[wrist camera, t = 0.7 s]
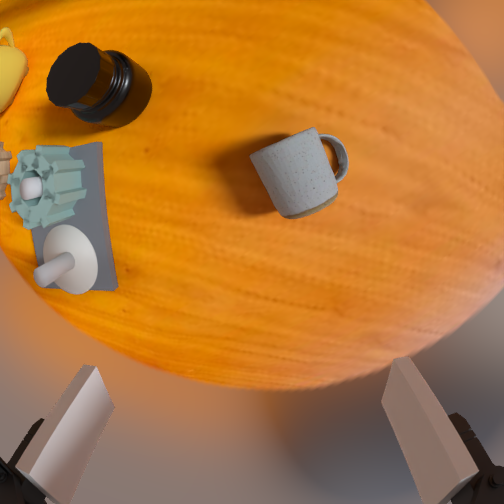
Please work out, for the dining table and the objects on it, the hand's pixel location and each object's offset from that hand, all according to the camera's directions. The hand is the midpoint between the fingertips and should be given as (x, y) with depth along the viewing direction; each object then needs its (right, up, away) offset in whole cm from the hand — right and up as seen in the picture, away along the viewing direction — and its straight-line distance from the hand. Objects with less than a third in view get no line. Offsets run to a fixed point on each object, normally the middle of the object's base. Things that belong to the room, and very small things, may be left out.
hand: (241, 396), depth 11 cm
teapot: (-40, +34, +17) cm, 56 cm away
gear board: (-26, +11, +24) cm, 37 cm away
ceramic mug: (+6, +16, +22) cm, 28 cm away
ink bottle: (-16, +26, +19) cm, 36 cm away
